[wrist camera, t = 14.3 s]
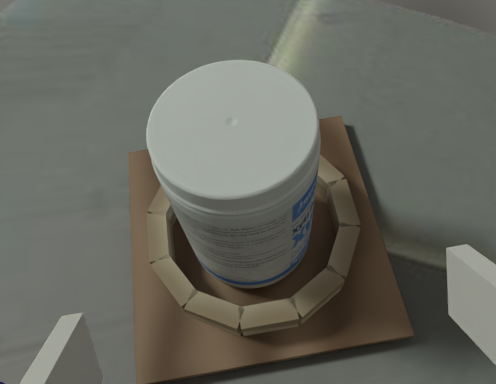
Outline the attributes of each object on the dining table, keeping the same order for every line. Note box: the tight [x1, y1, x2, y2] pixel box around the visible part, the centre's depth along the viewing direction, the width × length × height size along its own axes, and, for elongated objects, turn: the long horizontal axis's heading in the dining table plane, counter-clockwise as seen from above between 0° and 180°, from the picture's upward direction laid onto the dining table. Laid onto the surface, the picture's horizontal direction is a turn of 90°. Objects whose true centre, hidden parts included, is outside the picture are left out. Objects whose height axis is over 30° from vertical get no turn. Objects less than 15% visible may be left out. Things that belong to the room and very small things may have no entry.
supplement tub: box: [146, 60, 321, 288], centre depth 29 cm, size 10×10×15 cm
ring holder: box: [128, 116, 414, 384], centre depth 35 cm, size 20×20×4 cm
